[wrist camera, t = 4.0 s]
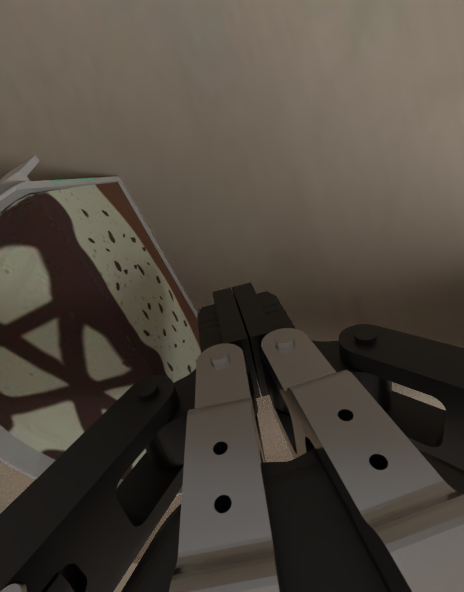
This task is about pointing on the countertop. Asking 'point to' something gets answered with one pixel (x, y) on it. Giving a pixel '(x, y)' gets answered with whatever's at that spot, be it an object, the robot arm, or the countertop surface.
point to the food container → (79, 312)
